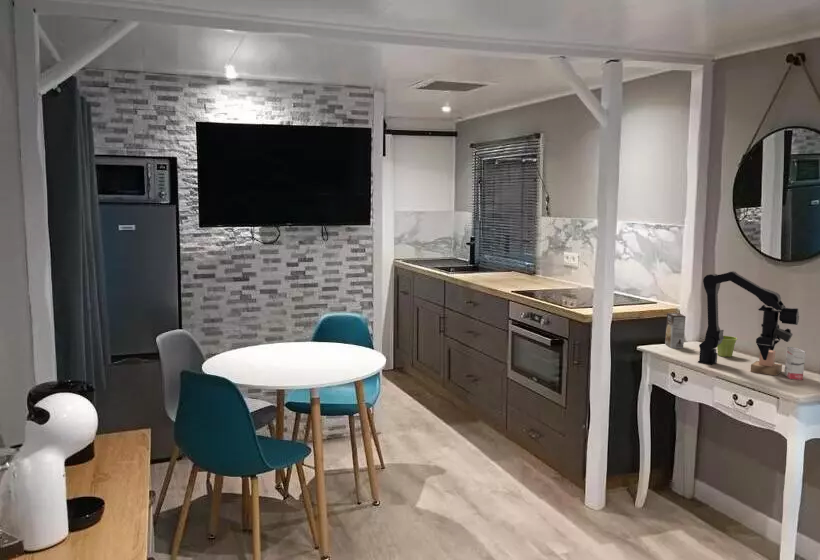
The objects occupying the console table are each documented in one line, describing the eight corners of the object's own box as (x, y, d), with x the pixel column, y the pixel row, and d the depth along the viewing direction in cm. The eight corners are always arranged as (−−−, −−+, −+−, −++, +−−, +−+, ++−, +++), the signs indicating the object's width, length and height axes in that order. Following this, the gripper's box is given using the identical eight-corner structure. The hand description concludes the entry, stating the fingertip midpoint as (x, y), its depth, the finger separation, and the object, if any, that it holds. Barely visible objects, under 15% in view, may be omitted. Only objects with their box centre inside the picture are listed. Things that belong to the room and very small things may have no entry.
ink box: (803, 380, 287) (806, 351, 286) (790, 379, 288) (792, 350, 287) (796, 375, 296) (799, 347, 294) (783, 374, 297) (786, 346, 295)
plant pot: (730, 359, 324) (731, 340, 323) (710, 355, 332) (711, 337, 331) (739, 356, 331) (740, 338, 330) (719, 352, 338) (720, 334, 337)
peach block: (758, 364, 300) (760, 350, 300) (761, 362, 304) (762, 349, 304) (771, 366, 297) (772, 352, 297) (774, 364, 301) (775, 350, 301)
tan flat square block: (750, 371, 300) (751, 364, 300) (756, 367, 308) (756, 360, 308) (776, 375, 294) (777, 368, 294) (781, 371, 302) (782, 364, 302)
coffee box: (664, 344, 355) (666, 312, 353) (677, 344, 355) (679, 313, 353) (670, 348, 346) (673, 315, 344) (684, 348, 346) (686, 316, 344)
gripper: (787, 327, 286) (783, 365, 288) (795, 321, 301) (792, 357, 303) (757, 323, 293) (754, 360, 295) (767, 318, 308) (764, 353, 310)
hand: (767, 358), depth 300 cm, fingers open, 9 cm apart
